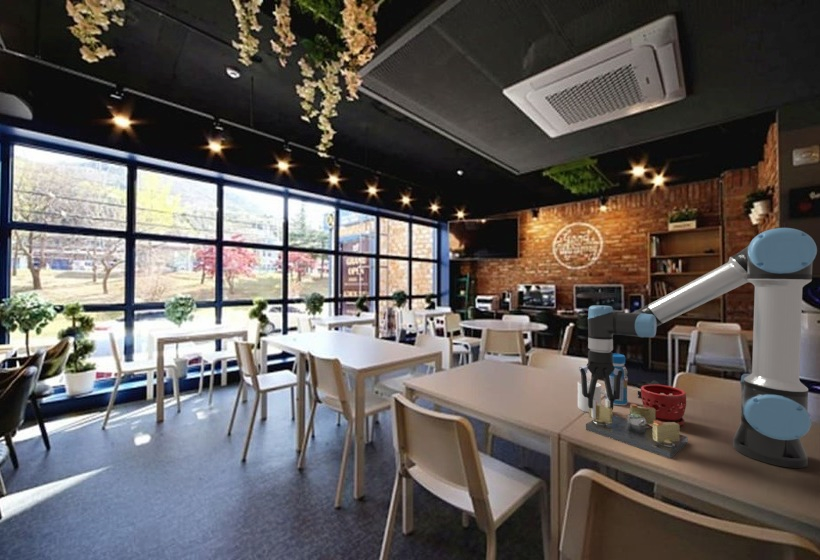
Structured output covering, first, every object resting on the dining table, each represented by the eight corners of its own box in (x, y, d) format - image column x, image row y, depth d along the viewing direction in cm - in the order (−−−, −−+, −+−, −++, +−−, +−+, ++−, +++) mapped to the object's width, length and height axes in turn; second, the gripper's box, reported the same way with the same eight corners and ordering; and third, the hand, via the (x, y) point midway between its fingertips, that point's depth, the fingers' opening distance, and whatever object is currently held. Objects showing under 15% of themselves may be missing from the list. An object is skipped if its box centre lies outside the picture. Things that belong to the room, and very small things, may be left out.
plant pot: (649, 412, 134) (649, 381, 134) (691, 424, 123) (691, 390, 123) (634, 420, 126) (634, 387, 126) (677, 433, 115) (677, 397, 115)
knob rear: (652, 423, 117) (652, 405, 117) (656, 427, 114) (656, 408, 114) (629, 421, 120) (629, 402, 120) (632, 424, 117) (632, 406, 117)
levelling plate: (688, 442, 109) (688, 420, 109) (670, 458, 99) (670, 434, 99) (607, 418, 128) (607, 399, 128) (585, 429, 118) (585, 409, 118)
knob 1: (613, 424, 117) (613, 405, 117) (608, 426, 115) (608, 407, 115) (592, 417, 123) (592, 399, 123) (587, 419, 121) (587, 401, 121)
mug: (614, 412, 133) (614, 386, 133) (606, 418, 128) (606, 390, 128) (582, 404, 142) (582, 379, 142) (574, 409, 137) (574, 383, 137)
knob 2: (672, 439, 106) (672, 419, 106) (681, 444, 102) (681, 423, 102) (650, 440, 105) (650, 419, 105) (659, 445, 102) (659, 424, 102)
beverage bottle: (611, 406, 140) (611, 357, 140) (600, 398, 149) (600, 352, 149) (632, 406, 140) (632, 357, 140) (620, 399, 149) (620, 352, 149)
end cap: (657, 402, 145) (657, 386, 145) (637, 398, 150) (637, 382, 150) (661, 396, 152) (661, 381, 152) (642, 393, 157) (642, 378, 157)
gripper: (623, 349, 121) (623, 416, 120) (571, 347, 125) (571, 411, 124) (631, 353, 113) (632, 424, 113) (576, 351, 117) (576, 420, 117)
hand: (600, 417), depth 119 cm, fingers closed on knob 1, 4 cm apart
